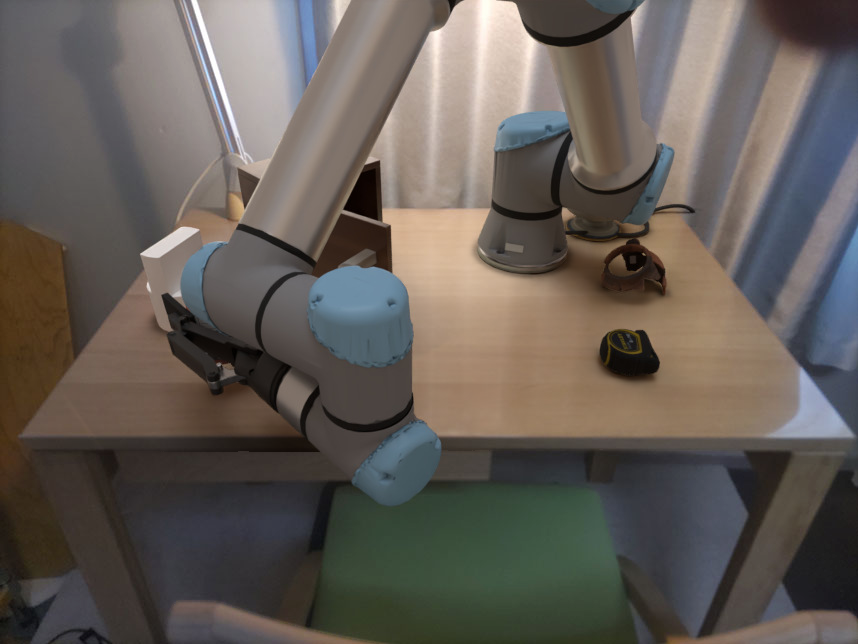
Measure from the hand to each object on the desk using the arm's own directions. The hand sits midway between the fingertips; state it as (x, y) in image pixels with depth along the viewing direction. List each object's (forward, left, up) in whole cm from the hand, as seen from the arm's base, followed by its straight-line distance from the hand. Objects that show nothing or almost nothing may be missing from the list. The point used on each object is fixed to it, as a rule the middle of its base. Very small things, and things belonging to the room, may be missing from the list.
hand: (194, 292), depth 72 cm
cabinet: (-12, -24, -11) cm, 29 cm away
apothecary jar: (-61, -36, -11) cm, 72 cm away
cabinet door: (-15, -6, -11) cm, 19 cm away
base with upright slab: (+6, -12, -11) cm, 17 cm away
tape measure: (-54, +3, -11) cm, 56 cm away
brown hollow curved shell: (-61, -16, -11) cm, 64 cm away
